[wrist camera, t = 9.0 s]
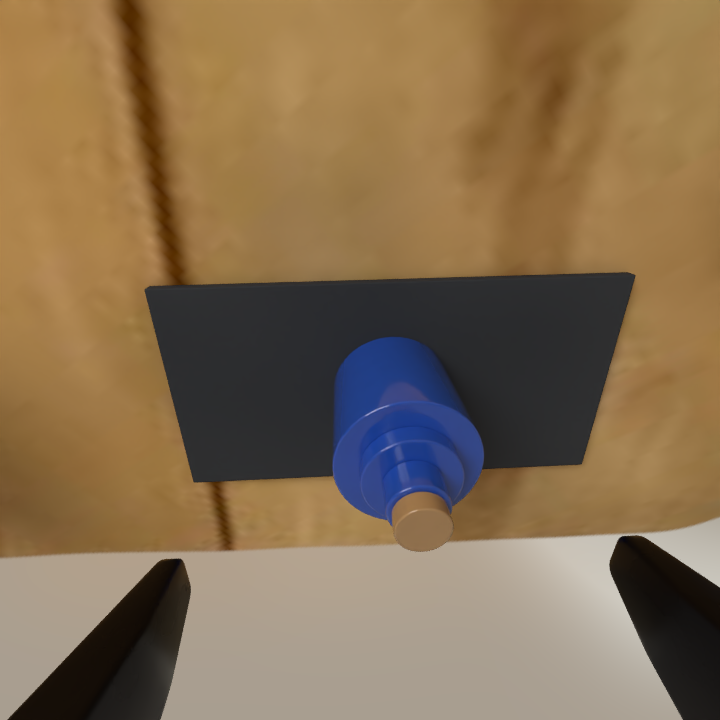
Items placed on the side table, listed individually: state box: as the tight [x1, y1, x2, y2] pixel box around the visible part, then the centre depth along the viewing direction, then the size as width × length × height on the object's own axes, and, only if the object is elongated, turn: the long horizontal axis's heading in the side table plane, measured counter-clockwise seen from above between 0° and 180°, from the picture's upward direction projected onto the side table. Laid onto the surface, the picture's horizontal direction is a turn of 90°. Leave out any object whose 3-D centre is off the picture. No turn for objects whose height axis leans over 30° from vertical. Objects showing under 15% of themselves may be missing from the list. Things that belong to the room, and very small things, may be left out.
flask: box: [332, 337, 484, 552], centre depth 15 cm, size 5×5×8 cm
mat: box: [145, 272, 635, 482], centre depth 19 cm, size 20×10×1 cm, turn 91°
